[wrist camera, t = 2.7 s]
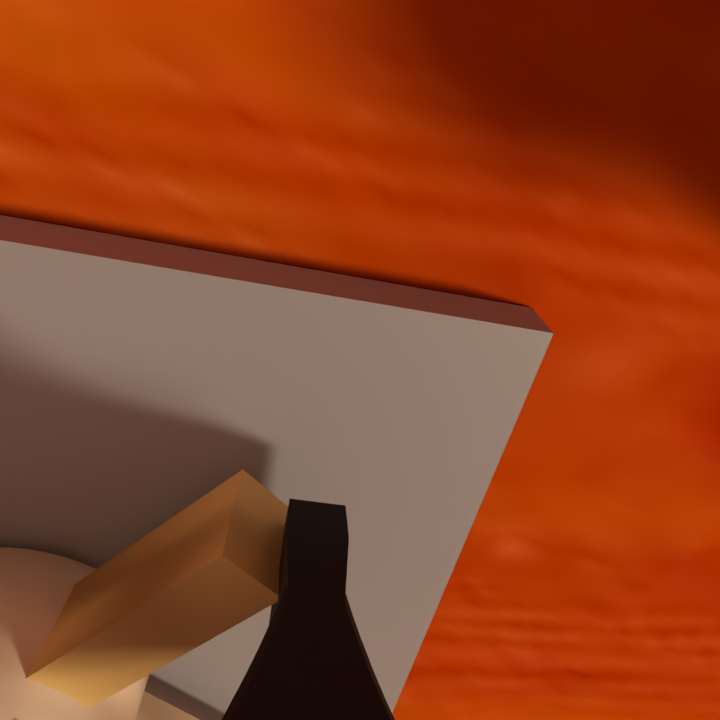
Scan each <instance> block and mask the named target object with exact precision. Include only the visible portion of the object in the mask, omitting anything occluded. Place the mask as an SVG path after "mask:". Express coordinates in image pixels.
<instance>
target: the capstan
mask: <svg viewBox="0 0 720 720" xmlns="http://www.w3.org/2000/svg"><path fill="white" fill-rule="evenodd" d="M287 510H288V506H287V505H286V504H284V503H283V502H282V501H281V500H280V499H278V498H277V497H276V496H275V495H273V494H272V493H271V492H270V491H269V490H267V489H266V488H265V487H264V486H263V485H261V484H260V483H259V482H258V481H257V480H255V479H254V478H253V477H252V476H250V475H249V474H248V473H247V472H246V471H244V470H243V469H242V470H241V471H240V472H238V473H237V474H235V475H234V476H232V477H231V478H229V479H228V480H226V481H225V482H223V483H222V484H221V485H219V486H218V487H216V488H215V489H213V490H212V491H210V492H209V493H207V494H206V495H204V496H203V497H201V498H200V499H199V500H197V501H196V502H194V503H193V504H191V505H190V506H188V507H187V508H185V509H184V510H182V511H181V512H179V513H178V514H177V515H175V516H174V517H172V518H171V519H169V520H168V521H166V522H165V523H163V524H162V525H160V526H159V527H158V528H156V529H155V530H153V531H152V532H150V533H149V534H147V535H146V536H144V537H143V538H141V539H140V540H138V541H137V542H136V543H134V544H133V545H131V546H130V547H128V548H127V549H125V550H124V551H122V552H121V553H119V554H118V555H116V556H115V557H114V558H112V559H111V560H109V561H108V562H106V563H105V564H103V565H102V566H100V567H99V568H97V569H95V568H93V567H91V566H88V565H86V564H84V563H81V562H78V561H75V560H72V559H69V558H66V557H63V556H59V555H55V554H51V553H47V552H42V551H36V550H30V549H22V548H11V547H0V720H200V719H198V718H196V717H194V716H192V715H190V714H188V713H186V712H184V711H182V710H180V709H178V708H176V707H174V706H172V705H170V704H169V703H167V702H165V701H163V700H161V699H159V698H157V697H155V696H153V695H151V694H149V693H147V692H145V691H144V690H145V687H146V684H147V681H148V677H149V674H151V673H153V672H154V671H156V670H158V669H160V668H161V667H163V666H165V665H167V664H168V663H170V662H172V661H174V660H175V659H177V658H179V657H181V656H182V655H184V654H186V653H188V652H190V651H191V650H193V649H195V648H197V647H198V646H200V645H202V644H204V643H205V642H207V641H209V640H211V639H212V638H214V637H216V636H218V635H219V634H221V633H223V632H225V631H227V630H228V629H230V628H232V627H234V626H235V625H237V624H239V623H241V622H242V621H244V620H246V619H248V618H249V617H251V616H253V615H255V614H257V613H258V612H260V611H262V610H264V609H265V608H267V607H269V606H271V605H272V604H274V603H276V602H277V601H278V596H279V568H280V560H281V551H282V543H283V535H284V527H285V521H286V516H287Z"/></svg>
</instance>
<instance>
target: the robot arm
mask: <svg viewBox="0 0 720 720" xmlns="http://www.w3.org/2000/svg"><path fill="white" fill-rule="evenodd" d="M348 545H349V534H348V523H347V514H346V506H345V505H338V504H330V503H322V502H314V501H305V500H297V499H290V500H289V505H288V510H287V516H286V521H285V527H284V535H283V543H282V551H281V560H280V568H279V596H278V601H277V602H276V603H274V604H272V606H271V613H270V620H269V626H268V629H267V631H266V633H265V635H264V637H263V640H262V642H261V644H260V646H259V648H258V650H257V652H256V654H255V657H254V659H253V661H252V663H251V665H250V667H249V669H248V671H247V673H246V674H245V676H244V678H243V680H242V682H241V684H240V686H239V688H238V690H237V692H236V694H235V695H234V697H233V699H232V701H231V703H230V705H229V707H228V709H227V710H226V712H225V714H224V716H223V718H222V720H395V719H394V717H393V715H392V712H391V710H390V708H389V706H388V704H387V701H386V699H385V697H384V694H383V692H382V690H381V687H380V685H379V683H378V680H377V678H376V675H375V673H374V671H373V668H372V666H371V663H370V660H369V658H368V655H367V653H366V650H365V647H364V645H363V642H362V640H361V637H360V634H359V631H358V629H357V626H356V623H355V620H354V617H353V614H352V611H351V608H350V605H349V602H348V599H347V596H346V578H347V562H348Z"/></svg>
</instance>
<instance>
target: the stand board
mask: <svg viewBox="0 0 720 720" xmlns="http://www.w3.org/2000/svg"><path fill="white" fill-rule="evenodd" d="M552 336H553V332H552V331H551V330H550V328H549V327H548V326H547V325H546V324H545V323H544V321H543V320H542V319H541V318H540V317H539V316H538V314H537V313H536V312H535V311H534V310H533V308H531V307H525V306H520V305H514V304H508V303H503V302H497V301H491V300H485V299H480V298H474V297H468V296H462V295H457V294H451V293H445V292H439V291H434V290H428V289H422V288H417V287H411V286H405V285H399V284H394V283H388V282H382V281H376V280H371V279H365V278H359V277H353V276H348V275H342V274H336V273H331V272H325V271H319V270H313V269H308V268H302V267H296V266H290V265H285V264H279V263H273V262H267V261H262V260H256V259H250V258H245V257H239V256H233V255H227V254H222V253H216V252H210V251H204V250H199V249H193V248H187V247H182V246H176V245H170V244H164V243H159V242H153V241H147V240H141V239H136V238H130V237H124V236H118V235H113V234H107V233H101V232H96V231H90V230H84V229H78V228H73V227H67V226H61V225H55V224H50V223H44V222H38V221H32V220H27V219H21V218H15V217H10V216H4V215H0V547H11V548H22V549H30V550H36V551H42V552H47V553H51V554H55V555H59V556H63V557H66V558H69V559H72V560H75V561H78V562H81V563H84V564H86V565H88V566H91V567H93V568H95V569H97V568H99V567H100V566H102V565H103V564H105V563H106V562H108V561H109V560H111V559H112V558H114V557H115V556H116V555H118V554H119V553H121V552H122V551H124V550H125V549H127V548H128V547H130V546H131V545H133V544H134V543H136V542H137V541H138V540H140V539H141V538H143V537H144V536H146V535H147V534H149V533H150V532H152V531H153V530H155V529H156V528H158V527H159V526H160V525H162V524H163V523H165V522H166V521H168V520H169V519H171V518H172V517H174V516H175V515H177V514H178V513H179V512H181V511H182V510H184V509H185V508H187V507H188V506H190V505H191V504H193V503H194V502H196V501H197V500H199V499H200V498H201V497H203V496H204V495H206V494H207V493H209V492H210V491H212V490H213V489H215V488H216V487H218V486H219V485H221V484H222V483H223V482H225V481H226V480H228V479H229V478H231V477H232V476H234V475H235V474H237V473H238V472H240V471H241V470H242V469H243V470H244V471H246V472H247V473H248V474H249V475H250V476H252V477H253V478H254V479H255V480H257V481H258V482H259V483H260V484H261V485H263V486H264V487H265V488H266V489H267V490H269V491H270V492H271V493H272V494H273V495H275V496H276V497H277V498H278V499H280V500H281V501H282V502H283V503H284V504H286V505H287V506H288V505H289V500H290V499H297V500H305V501H314V502H322V503H330V504H338V505H345V506H346V514H347V523H348V534H349V545H348V562H347V578H346V596H347V599H348V602H349V605H350V608H351V611H352V614H353V617H354V620H355V623H356V626H357V629H358V631H359V634H360V637H361V640H362V642H363V645H364V647H365V650H366V653H367V655H368V658H369V660H370V663H371V666H372V668H373V671H374V673H375V675H376V678H377V680H378V683H379V685H380V687H381V690H382V692H383V694H384V697H385V699H386V701H387V704H388V706H389V708H390V710H391V712H393V710H394V707H395V705H396V703H397V700H398V698H399V696H400V693H401V691H402V689H403V686H404V684H405V682H406V679H407V677H408V674H409V672H410V670H411V667H412V665H413V663H414V660H415V658H416V656H417V653H418V651H419V649H420V646H421V644H422V642H423V639H424V637H425V634H426V632H427V630H428V627H429V625H430V623H431V620H432V618H433V616H434V613H435V611H436V609H437V606H438V604H439V602H440V599H441V597H442V594H443V592H444V590H445V587H446V585H447V583H448V580H449V578H450V576H451V573H452V571H453V569H454V566H455V564H456V562H457V559H458V557H459V554H460V552H461V550H462V547H463V545H464V543H465V540H466V538H467V536H468V533H469V531H470V529H471V526H472V524H473V522H474V519H475V517H476V514H477V512H478V510H479V507H480V505H481V503H482V500H483V498H484V496H485V493H486V491H487V489H488V486H489V484H490V482H491V479H492V477H493V474H494V472H495V470H496V467H497V465H498V463H499V460H500V458H501V456H502V453H503V451H504V449H505V446H506V444H507V442H508V439H509V437H510V435H511V432H512V430H513V427H514V425H515V423H516V420H517V418H518V416H519V413H520V411H521V409H522V406H523V404H524V402H525V399H526V397H527V395H528V392H529V390H530V387H531V385H532V383H533V380H534V378H535V376H536V373H537V371H538V369H539V366H540V364H541V362H542V359H543V357H544V355H545V352H546V350H547V347H548V345H549V343H550V340H551V338H552ZM271 606H272V605H271ZM271 606H269V607H267V608H265V609H264V610H262V611H260V612H258V613H257V614H255V615H253V616H251V617H249V618H248V619H246V620H244V621H242V622H241V623H239V624H237V625H235V626H234V627H232V628H230V629H228V630H227V631H225V632H223V633H221V634H219V635H218V636H216V637H214V638H212V639H211V640H209V641H207V642H205V643H204V644H202V645H200V646H198V647H197V648H195V649H193V650H191V651H190V652H188V653H186V654H184V655H182V656H181V657H179V658H177V659H175V660H174V661H172V662H170V663H168V664H167V665H165V666H163V667H161V668H160V669H158V670H156V671H154V672H153V673H151V674H149V677H148V681H147V684H146V687H145V690H144V691H145V692H147V693H149V694H151V695H153V696H155V697H157V698H159V699H161V700H163V701H165V702H167V703H169V704H170V705H172V706H174V707H176V708H178V709H180V710H182V711H184V712H186V713H188V714H190V715H192V716H194V717H196V718H198V719H200V720H222V718H223V716H224V714H225V712H226V710H227V709H228V707H229V705H230V703H231V701H232V699H233V697H234V695H235V694H236V692H237V690H238V688H239V686H240V684H241V682H242V680H243V678H244V676H245V674H246V673H247V671H248V669H249V667H250V665H251V663H252V661H253V659H254V657H255V654H256V652H257V650H258V648H259V646H260V644H261V642H262V640H263V637H264V635H265V633H266V631H267V629H268V626H269V620H270V613H271Z"/></svg>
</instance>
